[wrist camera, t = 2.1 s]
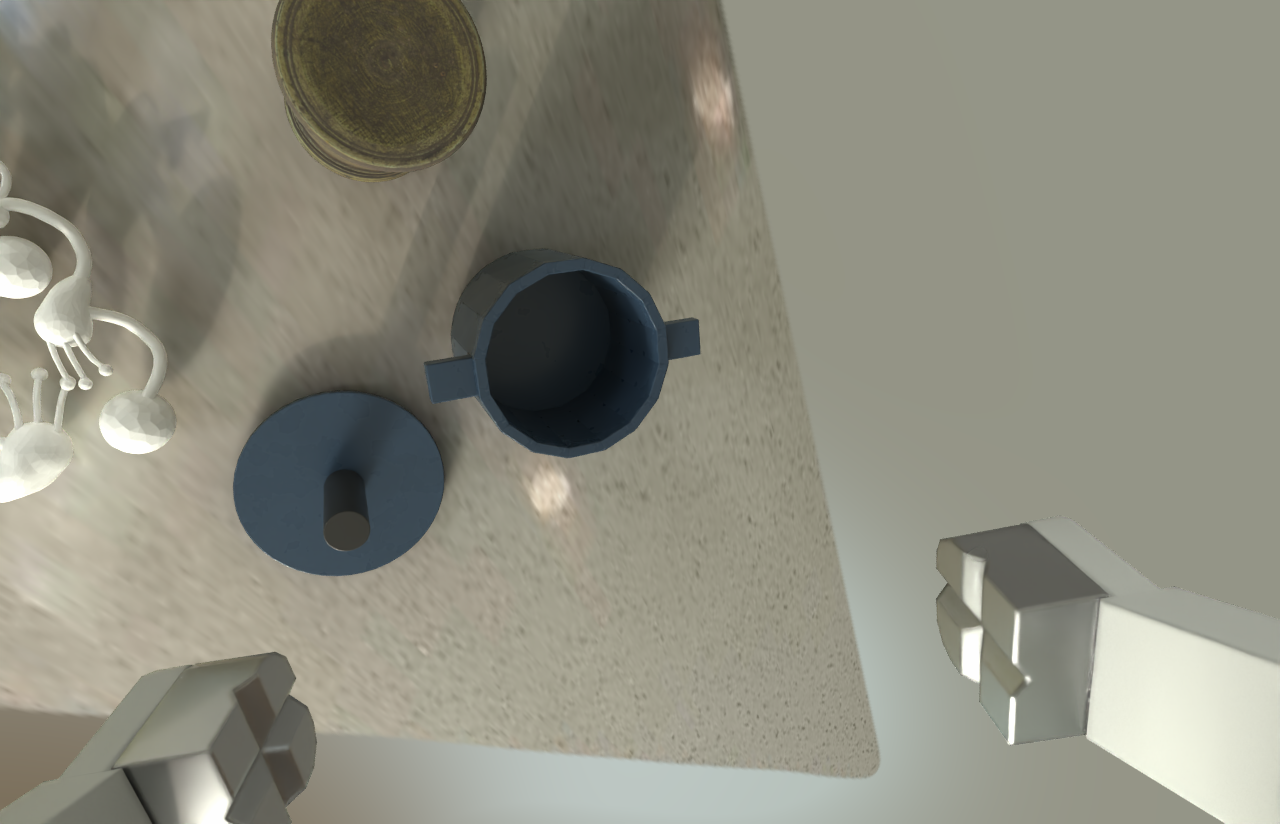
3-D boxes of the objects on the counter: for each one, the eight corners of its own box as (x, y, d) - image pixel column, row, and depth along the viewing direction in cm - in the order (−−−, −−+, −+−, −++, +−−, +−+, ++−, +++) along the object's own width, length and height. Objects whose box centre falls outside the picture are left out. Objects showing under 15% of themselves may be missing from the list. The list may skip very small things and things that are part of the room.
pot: (396, 265, 49) (410, 280, 40) (641, 235, 55) (699, 243, 46) (428, 439, 53) (447, 485, 44) (654, 393, 59) (709, 427, 50)
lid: (210, 409, 47) (188, 450, 39) (424, 372, 51) (442, 403, 44) (262, 591, 51) (251, 660, 43) (455, 542, 56) (476, 597, 48)
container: (465, 94, 48) (536, 43, 32) (392, 211, 48) (426, 220, 32) (335, -7, 43) (340, -125, 28) (255, 121, 44) (215, 80, 28)
